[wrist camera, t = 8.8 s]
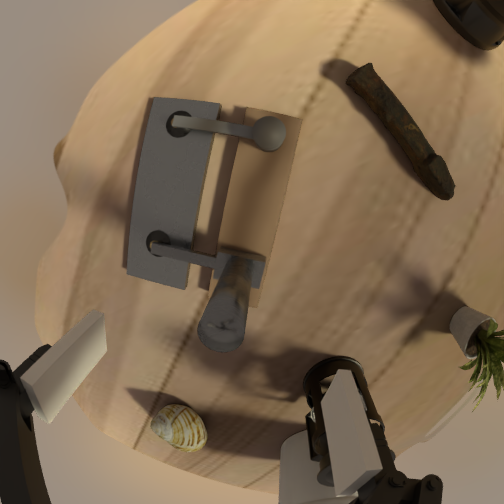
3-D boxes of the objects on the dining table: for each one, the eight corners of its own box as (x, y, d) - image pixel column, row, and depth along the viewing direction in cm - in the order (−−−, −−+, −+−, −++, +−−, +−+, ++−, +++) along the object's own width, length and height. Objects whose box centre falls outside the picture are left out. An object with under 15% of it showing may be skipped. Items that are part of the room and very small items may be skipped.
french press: (333, 343, 35) (380, 491, 13) (377, 366, 36) (432, 488, 14) (283, 394, 38) (288, 530, 16) (328, 412, 39) (350, 530, 17)
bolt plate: (221, 106, 27) (219, 103, 26) (187, 286, 33) (184, 290, 32) (158, 99, 27) (153, 97, 26) (130, 271, 33) (126, 274, 32)
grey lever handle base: (300, 121, 28) (308, 109, 22) (257, 302, 34) (255, 327, 28) (183, 101, 27) (166, 86, 22) (153, 277, 33) (133, 296, 28)
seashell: (198, 444, 42) (166, 469, 33) (167, 407, 45) (131, 426, 36) (230, 429, 39) (197, 459, 30) (195, 386, 42) (156, 409, 33)
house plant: (411, 316, 33) (471, 388, 17) (475, 258, 30) (548, 300, 15) (435, 367, 36) (478, 430, 20) (490, 317, 33) (543, 364, 17)
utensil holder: (269, 461, 44) (267, 530, 27) (286, 422, 40) (289, 509, 23) (335, 461, 44) (346, 525, 27) (363, 423, 40) (385, 498, 23)
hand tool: (339, 83, 26) (350, 70, 22) (362, 69, 25) (375, 55, 21) (425, 209, 30) (444, 215, 25) (443, 192, 29) (464, 196, 24)
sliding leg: (265, 256, 30) (264, 322, 16) (259, 281, 31) (253, 359, 17) (153, 230, 30) (79, 272, 16) (150, 255, 31) (81, 308, 17)
